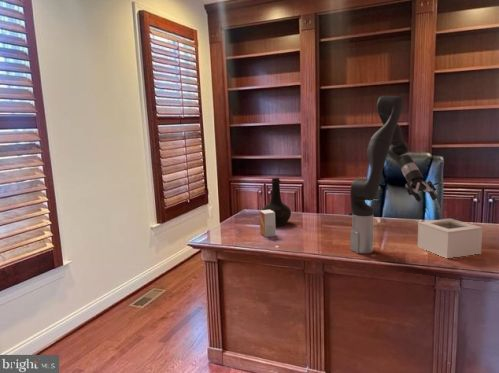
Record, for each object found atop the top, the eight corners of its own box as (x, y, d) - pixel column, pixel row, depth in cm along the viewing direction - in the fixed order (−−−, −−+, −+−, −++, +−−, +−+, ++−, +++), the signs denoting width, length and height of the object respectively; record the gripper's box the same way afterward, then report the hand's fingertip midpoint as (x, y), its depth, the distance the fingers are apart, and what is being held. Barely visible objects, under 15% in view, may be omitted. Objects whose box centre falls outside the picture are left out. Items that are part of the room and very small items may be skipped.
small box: (260, 233, 211) (259, 210, 209) (270, 232, 213) (270, 209, 211) (264, 237, 203) (264, 213, 201) (276, 235, 205) (275, 212, 203)
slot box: (446, 259, 161) (448, 231, 160) (417, 247, 178) (418, 222, 177) (481, 254, 166) (482, 227, 164) (449, 242, 183) (450, 218, 181)
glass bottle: (258, 227, 224) (256, 179, 220) (265, 219, 241) (264, 175, 237) (287, 228, 219) (286, 180, 215) (293, 220, 236) (292, 176, 232)
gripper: (403, 170, 187) (418, 196, 178) (427, 168, 191) (444, 194, 181) (396, 179, 193) (410, 205, 184) (420, 177, 196) (435, 203, 187)
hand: (427, 200), depth 183 cm, fingers open, 8 cm apart
